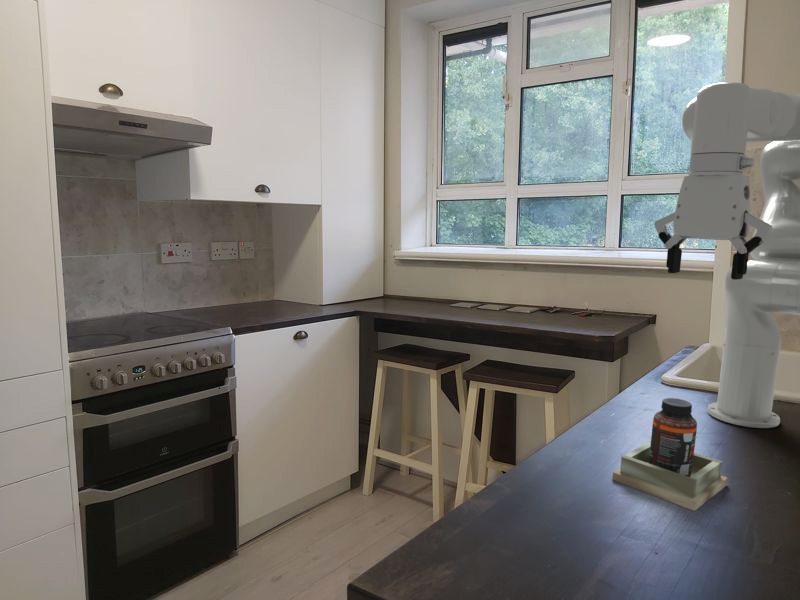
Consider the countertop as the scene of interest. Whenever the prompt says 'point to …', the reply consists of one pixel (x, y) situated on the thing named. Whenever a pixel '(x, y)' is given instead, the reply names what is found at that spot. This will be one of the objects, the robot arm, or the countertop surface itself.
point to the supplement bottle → (673, 437)
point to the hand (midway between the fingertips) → (704, 275)
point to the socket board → (672, 478)
